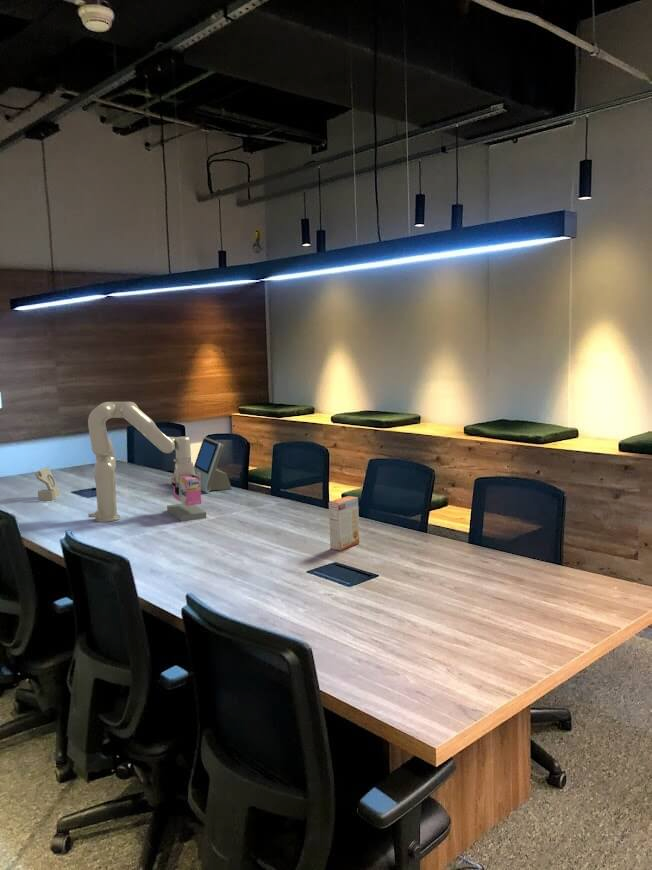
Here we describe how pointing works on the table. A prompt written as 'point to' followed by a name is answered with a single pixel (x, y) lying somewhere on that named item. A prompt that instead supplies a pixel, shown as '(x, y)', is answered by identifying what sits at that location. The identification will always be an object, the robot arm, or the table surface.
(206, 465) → the touchscreen device
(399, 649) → the table surface
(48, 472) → the phone holder
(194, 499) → the gum box
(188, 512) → the base plinth
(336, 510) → the cracker box
